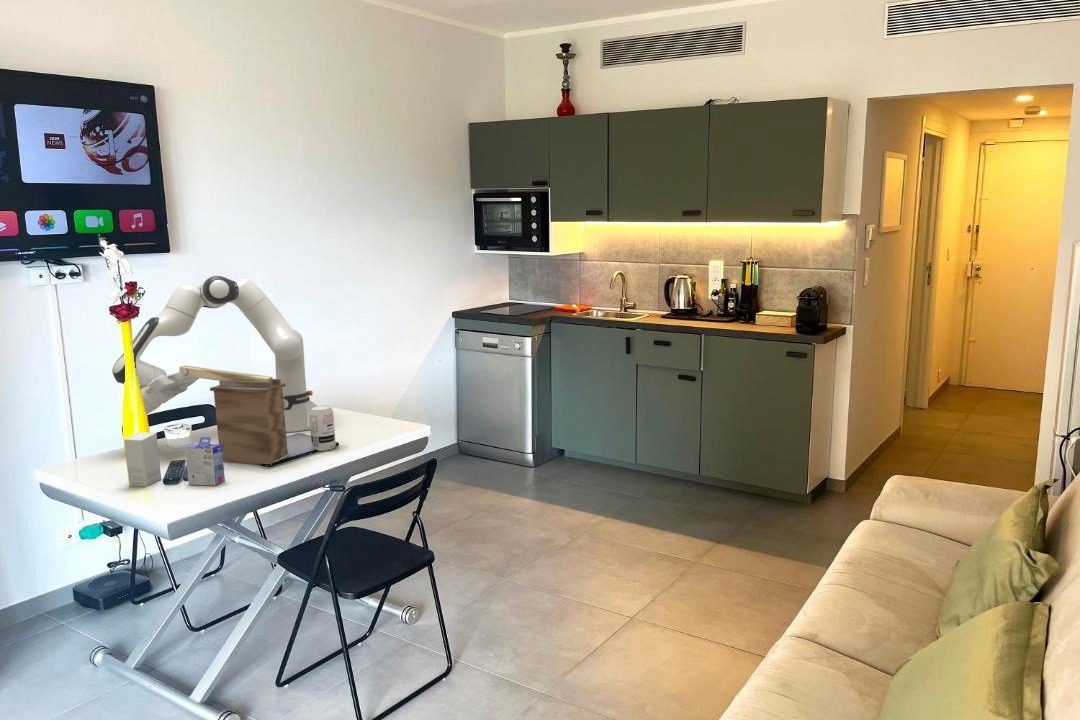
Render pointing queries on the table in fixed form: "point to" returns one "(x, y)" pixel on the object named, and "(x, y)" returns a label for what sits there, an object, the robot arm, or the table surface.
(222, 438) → the tall wooden crate
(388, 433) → the table surface
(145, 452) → the skincare box
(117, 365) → the robot arm
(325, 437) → the supplement can
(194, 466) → the ink cartridge box
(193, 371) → the wooden bar
